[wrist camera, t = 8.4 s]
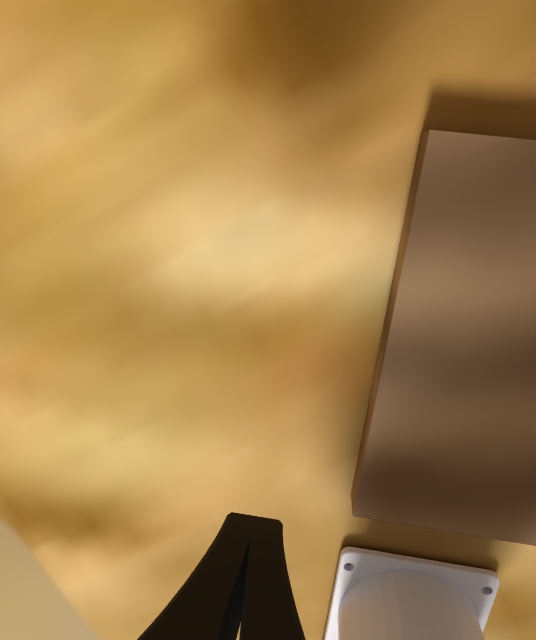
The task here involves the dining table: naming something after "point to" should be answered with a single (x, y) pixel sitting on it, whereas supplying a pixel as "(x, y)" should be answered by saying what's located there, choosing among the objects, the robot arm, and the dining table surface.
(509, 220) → the bench board
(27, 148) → the dining table surface
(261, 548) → the robot arm
